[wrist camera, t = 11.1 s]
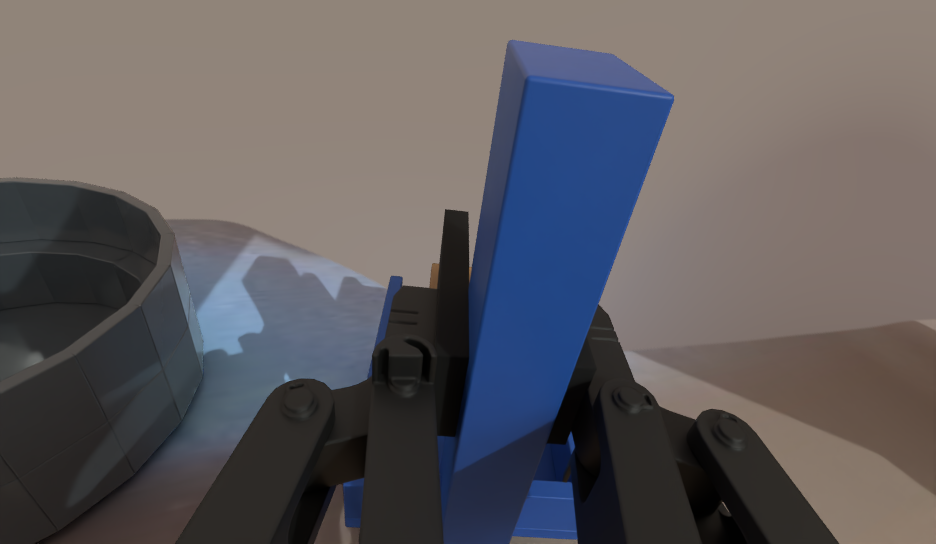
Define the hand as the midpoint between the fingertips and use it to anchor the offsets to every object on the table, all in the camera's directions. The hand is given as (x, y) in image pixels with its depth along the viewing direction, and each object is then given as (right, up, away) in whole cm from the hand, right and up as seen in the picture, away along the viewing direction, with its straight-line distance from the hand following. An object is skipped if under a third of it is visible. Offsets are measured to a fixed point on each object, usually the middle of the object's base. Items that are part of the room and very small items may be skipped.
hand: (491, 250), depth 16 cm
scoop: (-1, -7, +4) cm, 8 cm away
